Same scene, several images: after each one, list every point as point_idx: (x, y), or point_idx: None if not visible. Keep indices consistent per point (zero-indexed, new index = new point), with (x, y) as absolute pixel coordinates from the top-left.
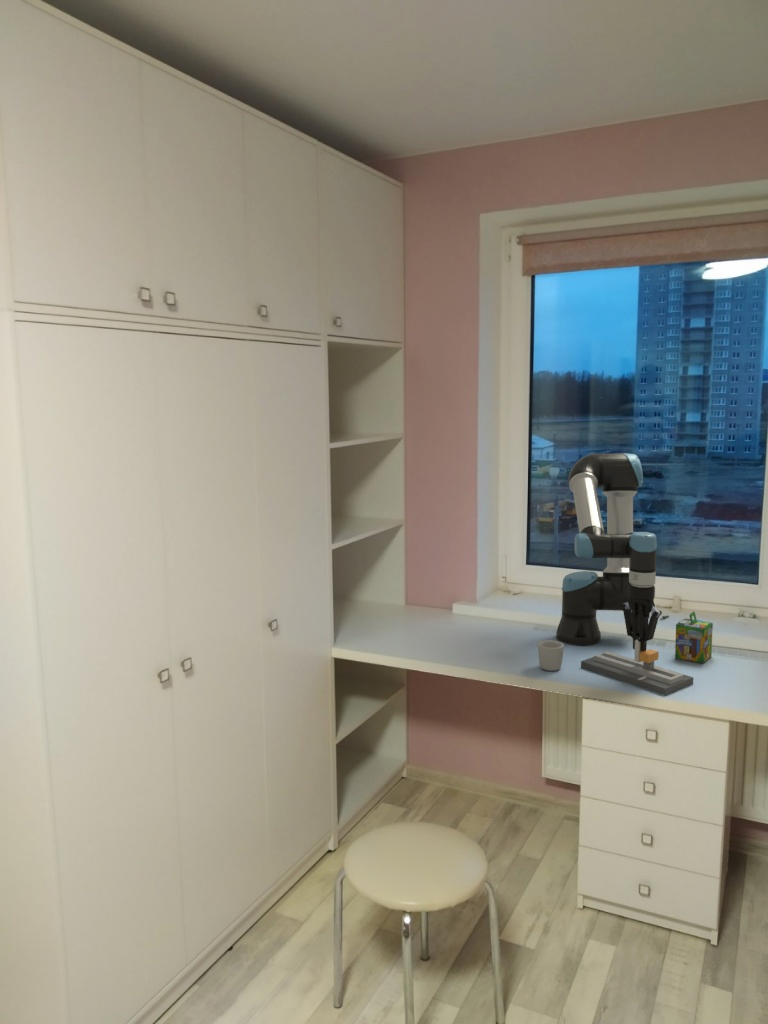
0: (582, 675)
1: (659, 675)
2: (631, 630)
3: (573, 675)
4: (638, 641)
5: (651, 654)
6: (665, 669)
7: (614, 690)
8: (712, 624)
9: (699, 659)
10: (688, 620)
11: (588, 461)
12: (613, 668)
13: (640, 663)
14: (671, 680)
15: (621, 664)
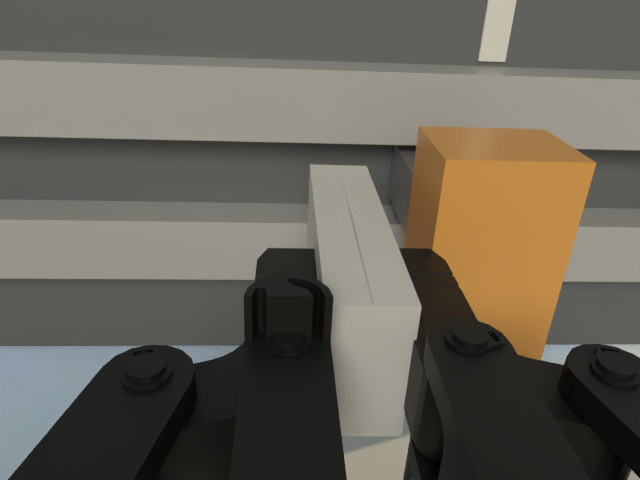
0: (52, 412)
1: (595, 267)
2: (94, 436)
3: (21, 447)
4: (387, 433)
5: (553, 311)
6: (587, 87)
7: (356, 449)
8: None
9: None
10: None
11: None
12: (154, 291)
13: (304, 126)
14: None
15: (198, 278)
